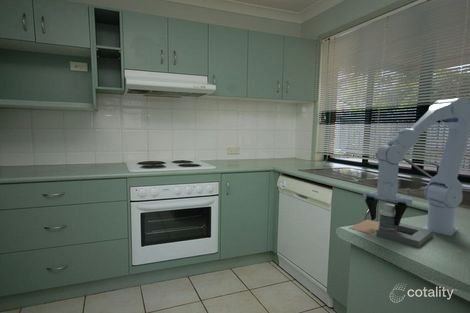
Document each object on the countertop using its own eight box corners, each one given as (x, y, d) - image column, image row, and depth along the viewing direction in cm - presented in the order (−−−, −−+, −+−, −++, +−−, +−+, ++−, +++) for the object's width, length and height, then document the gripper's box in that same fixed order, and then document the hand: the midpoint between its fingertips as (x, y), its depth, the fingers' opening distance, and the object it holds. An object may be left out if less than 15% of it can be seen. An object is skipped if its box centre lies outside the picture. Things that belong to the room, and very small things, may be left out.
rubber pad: (367, 219, 107) (367, 219, 107) (387, 224, 102) (387, 224, 102) (348, 228, 98) (348, 227, 98) (369, 234, 92) (369, 233, 92)
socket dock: (392, 226, 100) (393, 221, 100) (432, 236, 91) (432, 230, 91) (376, 235, 91) (376, 230, 91) (418, 247, 82) (419, 241, 82)
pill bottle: (398, 234, 92) (400, 207, 91) (380, 233, 93) (382, 206, 92) (393, 229, 97) (394, 203, 96) (376, 227, 98) (377, 202, 97)
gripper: (360, 179, 97) (357, 219, 98) (407, 186, 86) (404, 230, 87) (369, 177, 101) (366, 215, 103) (415, 184, 91) (412, 225, 92)
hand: (384, 222), depth 95 cm, fingers open, 7 cm apart
